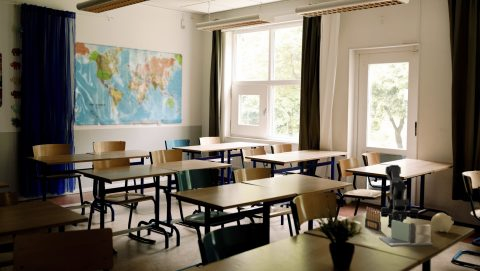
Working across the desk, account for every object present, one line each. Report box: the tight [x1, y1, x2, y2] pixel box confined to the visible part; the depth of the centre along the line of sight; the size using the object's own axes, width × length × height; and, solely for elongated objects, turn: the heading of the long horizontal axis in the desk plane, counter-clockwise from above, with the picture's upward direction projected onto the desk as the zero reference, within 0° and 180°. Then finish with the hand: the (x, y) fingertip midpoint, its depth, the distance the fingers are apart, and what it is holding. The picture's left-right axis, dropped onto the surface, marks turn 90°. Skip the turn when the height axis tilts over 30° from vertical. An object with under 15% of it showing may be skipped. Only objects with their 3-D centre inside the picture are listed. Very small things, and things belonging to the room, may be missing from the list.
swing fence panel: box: [390, 220, 411, 242], centre depth 241 cm, size 10×1×9 cm, turn 38°
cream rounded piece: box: [430, 212, 455, 233], centre depth 258 cm, size 10×12×11 cm
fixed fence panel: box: [410, 222, 432, 244], centre depth 236 cm, size 10×2×10 cm, turn 98°
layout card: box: [378, 236, 434, 247], centre depth 241 cm, size 22×14×1 cm, turn 98°
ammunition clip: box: [364, 206, 382, 232], centre depth 263 cm, size 11×2×12 cm, turn 30°
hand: (400, 227), depth 243 cm, fingers closed
